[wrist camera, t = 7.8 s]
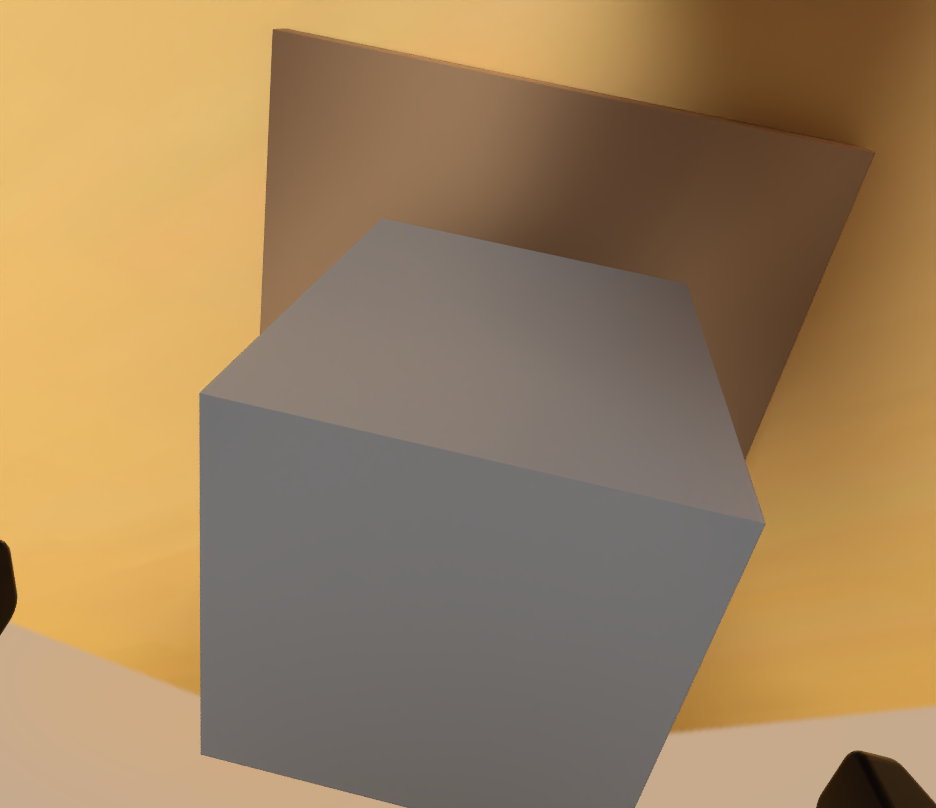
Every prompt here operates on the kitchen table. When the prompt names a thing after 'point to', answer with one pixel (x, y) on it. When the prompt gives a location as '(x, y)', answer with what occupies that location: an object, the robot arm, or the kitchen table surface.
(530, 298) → the grey rectangular block
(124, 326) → the kitchen table surface
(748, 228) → the brown flat panel
